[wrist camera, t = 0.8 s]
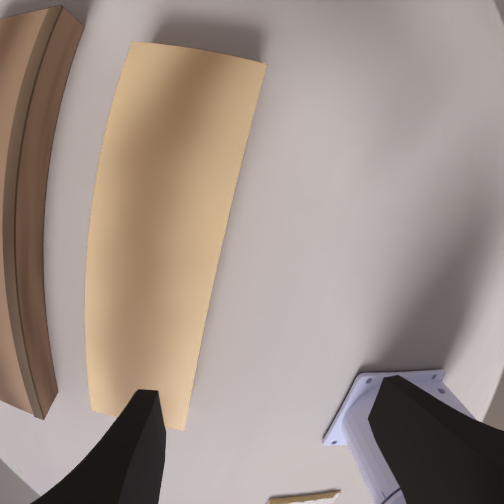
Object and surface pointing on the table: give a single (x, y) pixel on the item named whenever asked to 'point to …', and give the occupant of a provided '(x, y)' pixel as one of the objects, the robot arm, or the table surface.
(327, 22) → the table surface
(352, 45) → the table surface
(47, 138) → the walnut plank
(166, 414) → the oak plank
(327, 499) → the baseboard
